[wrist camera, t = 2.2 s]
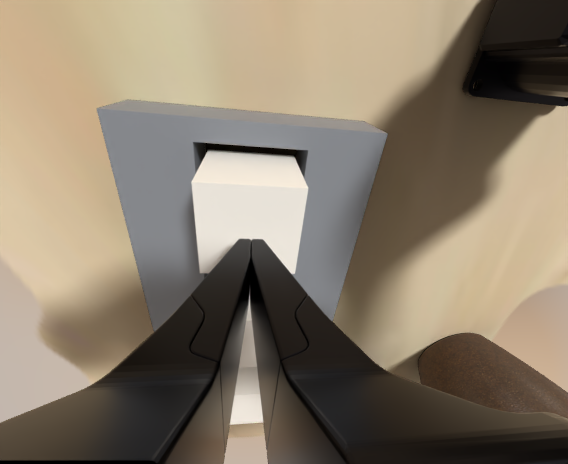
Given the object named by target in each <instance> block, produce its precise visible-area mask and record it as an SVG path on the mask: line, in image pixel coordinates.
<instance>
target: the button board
mask: <svg viewBox="0 0 568 464" xmlns="http://www.w3.org/2000/svg"><path fill="white" fill-rule="evenodd" d="M97 112H98V116H99V120H100V124H101V128H102V132H103V136H104V139H105V143H106V147H107V151H108V155H109V159H110V163H111V167H112V171H113V174H114V178H115V182H116V186H117V190H118V194H119V198H120V202H121V206H122V210H123V213H124V217H125V221H126V225H127V229H128V233H129V237H130V241H131V245H132V248H133V252H134V256H135V260H136V264H137V268H138V272H139V276H140V280H141V284H142V287H143V291H144V295H145V299H146V303H147V307H148V311H149V315H150V319H151V322H152V326H153V330H154V332H155V331H156V330H157V329H158V328H159V327H160V326H161V325H162V324H163V323H164V322H165V321H166V320H167V319H168V318H169V317H170V316H171V315H172V314H173V313H174V312H175V311H176V310H177V309H178V308H179V307H180V306H181V305H182V303H183V302H184V301H185V300H186V299H187V298H188V297H189V296H190V294H191V293H192V292H193V291H194V290H195V289H196V288H197V286H198V285H199V284H200V283H201V282H202V281H203V280H204V278H205V277H206V276H207V275H208V274H209V273H200V268H199V258H198V247H197V237H196V226H195V215H194V205H193V194H192V184H191V182H192V180H193V178H194V176H195V174H196V172H197V170H198V169H199V167H200V165H201V163H202V161H203V159H204V157H205V155H206V151H205V143H214V144H228V145H242V146H255V147H269V148H282V149H296V150H297V152H296V162H297V164H298V166H299V168H300V171H301V173H302V175H303V177H304V180H305V182H306V184H307V186H308V194H307V201H306V207H305V213H304V220H303V226H302V232H301V239H300V245H299V251H298V258H297V264H296V270H295V274H292V275H293V276H294V278H295V279H296V280H297V281H298V283H299V284H300V285H301V286H302V287H303V289H304V290H305V291H306V292H307V294H308V296H310V297H311V298H312V300H313V301H314V302H315V303H316V304H317V306H318V307H319V308H320V309H321V310H322V311H323V312H324V314H325V315H326V316H327V317H328V318H329V319H330V320H331V321H333V318H334V315H335V311H336V308H337V304H338V301H339V298H340V294H341V291H342V287H343V284H344V281H345V277H346V274H347V271H348V267H349V264H350V260H351V257H352V254H353V250H354V247H355V243H356V240H357V237H358V233H359V230H360V227H361V223H362V220H363V216H364V213H365V210H366V206H367V203H368V199H369V196H370V193H371V189H372V186H373V182H374V179H375V176H376V172H377V169H378V166H379V162H380V159H381V155H382V152H383V149H384V145H385V142H386V138H387V135H388V133H386V132H384V131H382V130H380V129H378V128H376V127H374V126H372V125H370V124H368V123H366V122H364V121H355V120H344V119H333V118H322V117H311V116H300V115H289V114H278V113H268V112H257V111H246V110H235V109H224V108H213V107H202V106H192V105H181V104H170V103H159V102H148V101H137V100H125V101H121V102H118V103H114V104H110V105H107V106H103V107H100V108H97Z"/></svg>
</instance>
